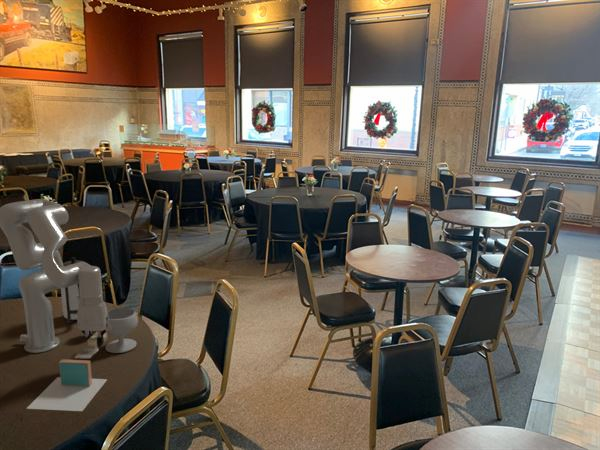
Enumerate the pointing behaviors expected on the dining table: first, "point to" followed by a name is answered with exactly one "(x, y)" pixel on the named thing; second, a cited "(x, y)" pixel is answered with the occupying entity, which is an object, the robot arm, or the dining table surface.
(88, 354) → the turner
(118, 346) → the chalice
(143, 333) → the dining table surface
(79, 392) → the tile board
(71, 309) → the coffee press
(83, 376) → the tile
